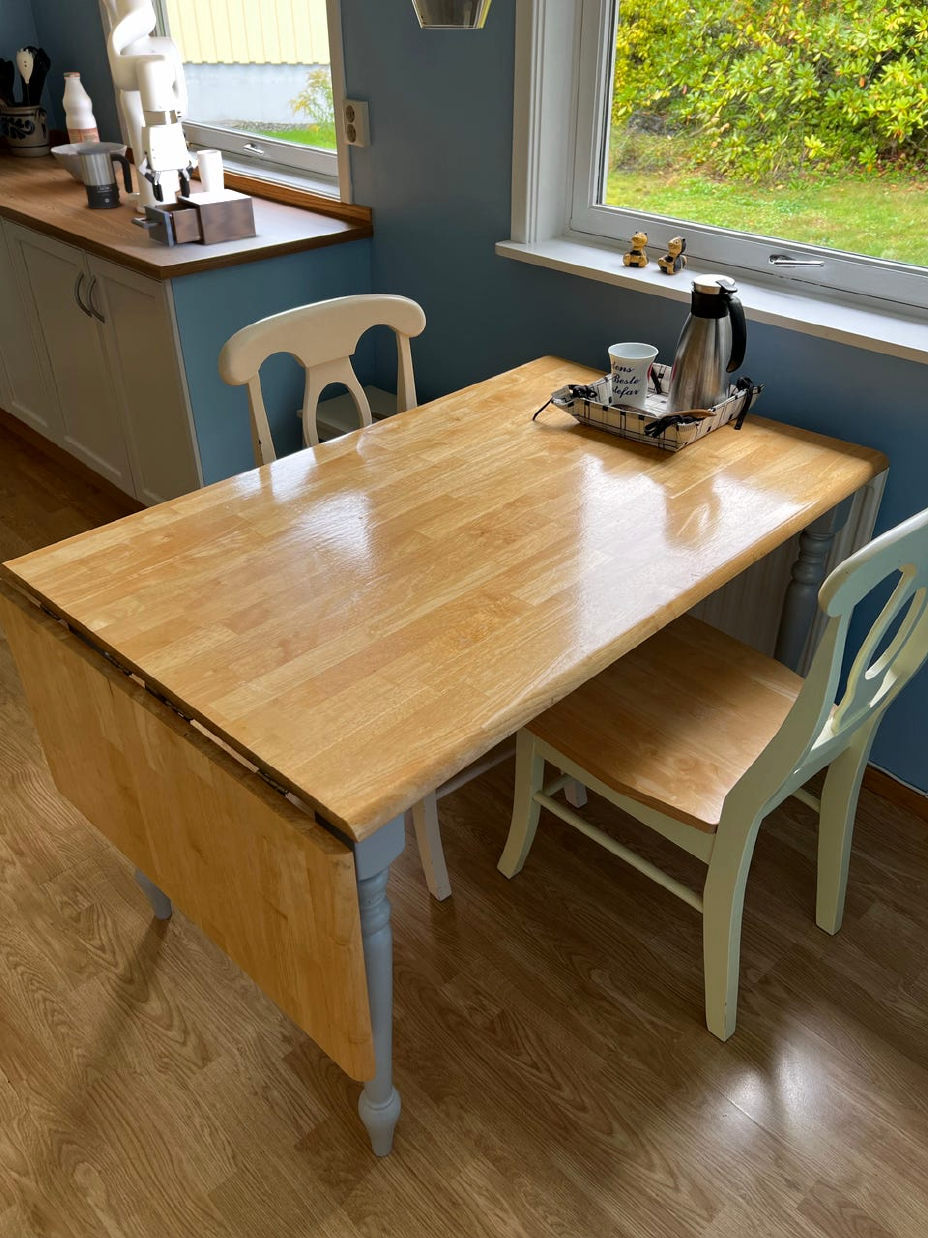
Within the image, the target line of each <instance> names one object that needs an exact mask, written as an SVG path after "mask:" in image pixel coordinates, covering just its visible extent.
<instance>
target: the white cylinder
mask: <svg viewBox="0 0 928 1238" xmlns="http://www.w3.org/2000/svg"><path fill="white" fill-rule="evenodd" d="M196 160H197V161H198V164H197V168H198V173H199V177H200V181H201V186H202V191H203V193H205V192H212V191H219V190H225V181H224V180H225V179H224V165H223V164H224V163H223V156H222V151H220V150H217V149H205V150H199V151H197V152H196Z"/></svg>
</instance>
